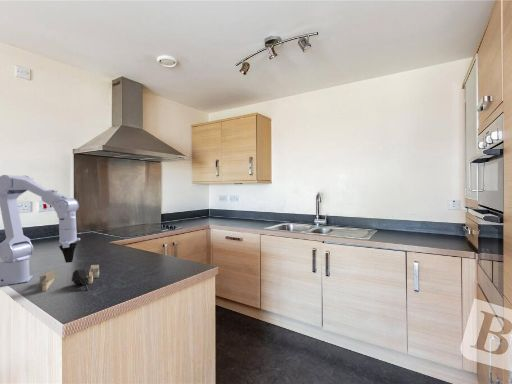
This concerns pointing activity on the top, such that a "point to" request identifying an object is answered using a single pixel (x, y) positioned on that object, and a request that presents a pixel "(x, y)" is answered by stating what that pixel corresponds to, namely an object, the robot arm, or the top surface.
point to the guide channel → (48, 278)
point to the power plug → (80, 277)
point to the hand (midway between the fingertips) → (69, 262)
